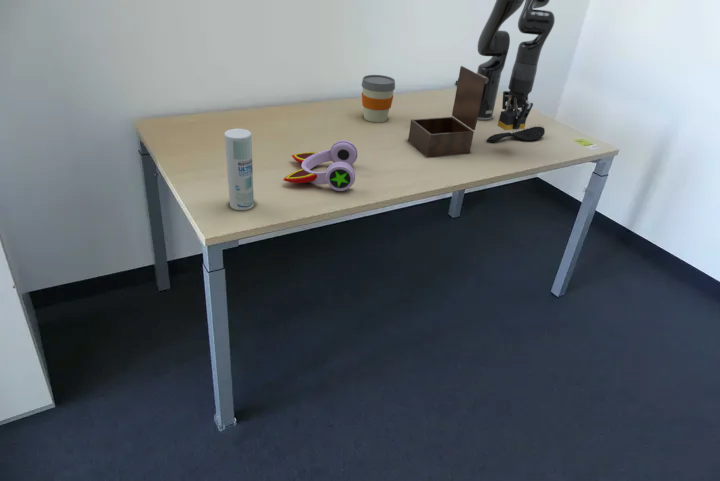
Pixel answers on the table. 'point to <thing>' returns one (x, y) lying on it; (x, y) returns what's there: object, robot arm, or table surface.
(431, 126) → the case
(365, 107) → the reusable coffee cup
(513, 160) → the table surface
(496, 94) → the robot arm
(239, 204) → the spray can
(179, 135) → the table surface
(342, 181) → the headphones
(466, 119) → the case lid
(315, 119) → the table surface
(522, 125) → the duster
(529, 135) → the hairbrush
